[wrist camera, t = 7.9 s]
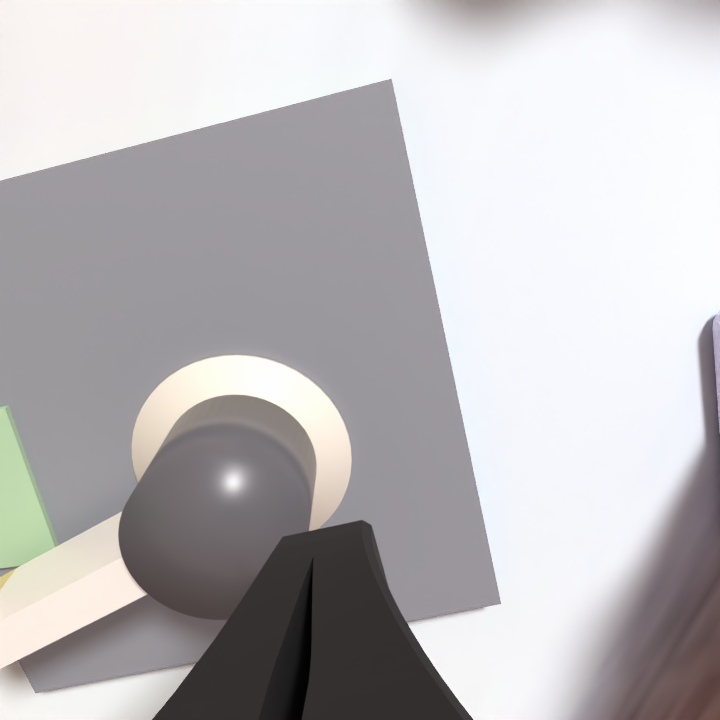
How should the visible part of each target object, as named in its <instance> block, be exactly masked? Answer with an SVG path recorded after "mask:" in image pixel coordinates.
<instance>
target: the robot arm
mask: <svg viewBox="0 0 720 720" xmlns="http://www.w3.org/2000/svg"><path fill="white" fill-rule="evenodd" d="M713 342H714V357H715V372H716V387H717V402H718V417H719V432H720V312H719V313H718V314H717V315H716V317H715V318H714V320H713ZM152 720H473V719H472V717H471V716H470V715H469V714H468V712H467V711H466V710H465V708H464V707H463V706H462V705H461V703H460V702H459V701H458V699H457V698H456V697H455V695H454V694H453V693H452V691H451V690H450V688H449V687H448V686H447V684H446V683H445V682H444V680H443V679H442V678H441V676H440V675H439V673H438V672H437V670H436V669H435V667H434V666H433V664H432V663H431V661H430V660H429V658H428V657H427V655H426V654H425V652H424V651H423V649H422V647H421V646H420V644H419V642H418V641H417V639H416V638H415V636H414V634H413V633H412V631H411V629H410V628H409V626H408V624H407V622H406V621H405V619H404V617H403V615H402V614H401V612H400V610H399V608H398V606H397V604H396V602H395V600H394V598H393V596H392V594H391V592H390V590H389V587H388V583H387V579H386V576H385V572H384V568H383V565H382V561H381V558H380V554H379V550H378V547H377V543H376V539H375V536H374V532H373V529H372V525H370V524H369V523H367V522H365V521H364V520H359V521H354V522H350V523H345V524H340V525H336V526H331V527H326V528H321V529H317V530H312V531H307V532H303V533H298V534H293V535H288V536H284V537H282V538H281V540H280V541H279V543H278V544H277V546H276V547H275V549H274V550H273V552H272V553H271V555H270V556H269V558H268V559H267V561H266V562H265V564H264V565H263V567H262V569H261V570H260V572H259V573H258V575H257V576H256V578H255V580H254V581H253V583H252V584H251V586H250V587H249V589H248V590H247V592H246V593H245V595H244V596H243V598H242V600H241V601H240V603H239V604H238V606H237V607H236V609H235V610H234V611H233V613H232V614H231V616H230V617H229V619H228V620H227V622H226V623H225V625H224V626H223V628H222V629H221V631H220V632H219V633H218V635H217V636H216V638H215V639H214V641H213V642H212V643H211V645H210V646H209V647H208V649H207V650H206V651H205V653H204V654H203V655H202V657H201V658H200V659H199V661H198V662H197V663H196V665H195V666H194V667H193V669H192V670H191V671H190V673H189V674H188V675H187V677H186V678H185V679H184V681H183V682H182V683H181V685H180V686H179V687H178V689H177V690H176V691H175V693H174V694H173V695H172V696H171V697H170V699H169V700H168V701H167V702H166V704H165V705H164V706H163V707H162V708H161V710H160V711H159V712H158V713H157V714H156V716H155V717H154V718H153V719H152Z"/></svg>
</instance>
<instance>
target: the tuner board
mask: <svg viewBox="0 0 720 720" xmlns="http://www.w3.org/2000/svg"><path fill="white" fill-rule="evenodd" d="M234 394H236V395H248V396H254V397H258V398H261V399H264V400H267V401H269V402H272V403H274V404H276V405H278V406H279V407H281V408H283V409H284V410H286V411H287V412H288V413H289V414H291V415H292V416H293V417H294V418H295V419H296V420H297V421H298V422H299V423H300V424H301V426H302V427H303V428H304V429H305V431H306V433H307V434H308V436H309V438H310V440H311V442H312V445H313V447H314V451H315V455H316V463H317V468H316V480H315V488H314V496H313V503H312V511H311V519H310V527H309V531H312V530H317V529H321V528H326V527H331V526H336V525H340V524H345V523H350V522H354V521H359V520H364V521H365V522H367V523H369V524H370V525H372V529H373V532H374V536H375V539H376V543H377V547H378V550H379V554H380V558H381V561H382V565H383V568H384V572H385V576H386V579H387V583H388V587H389V590H390V592H391V594H392V596H393V598H394V600H395V602H396V604H397V606H398V608H399V610H400V612H401V614H402V615H403V617H404V619H405V621H406V622H409V621H414V620H419V619H424V618H430V617H435V616H440V615H445V614H450V613H456V612H461V611H466V610H471V609H476V608H482V607H487V606H492V605H497V604H501V602H500V597H499V592H498V587H497V582H496V578H495V573H494V568H493V563H492V558H491V554H490V549H489V544H488V539H487V534H486V530H485V525H484V520H483V515H482V511H481V506H480V501H479V496H478V491H477V487H476V482H475V477H474V472H473V467H472V463H471V458H470V453H469V448H468V443H467V439H466V434H465V429H464V424H463V419H462V415H461V410H460V405H459V400H458V396H457V391H456V386H455V381H454V376H453V372H452V367H451V362H450V357H449V352H448V348H447V343H446V338H445V333H444V328H443V324H442V319H441V314H440V309H439V304H438V300H437V295H436V290H435V285H434V281H433V276H432V271H431V266H430V261H429V257H428V252H427V247H426V242H425V237H424V233H423V228H422V223H421V218H420V213H419V209H418V204H417V199H416V194H415V189H414V185H413V180H412V175H411V170H410V166H409V161H408V156H407V151H406V146H405V142H404V137H403V132H402V127H401V122H400V118H399V113H398V108H397V103H396V98H395V94H394V89H393V84H392V79H389V80H385V81H382V82H378V83H374V84H370V85H366V86H362V87H359V88H355V89H351V90H347V91H343V92H339V93H335V94H332V95H328V96H324V97H320V98H316V99H312V100H309V101H305V102H301V103H297V104H293V105H289V106H286V107H282V108H278V109H274V110H270V111H266V112H263V113H259V114H255V115H251V116H247V117H243V118H240V119H236V120H232V121H228V122H224V123H220V124H217V125H213V126H209V127H205V128H201V129H197V130H193V131H190V132H186V133H182V134H178V135H174V136H170V137H167V138H163V139H159V140H155V141H151V142H147V143H144V144H140V145H136V146H132V147H128V148H124V149H121V150H117V151H113V152H109V153H105V154H101V155H98V156H94V157H90V158H86V159H82V160H78V161H75V162H71V163H67V164H63V165H59V166H55V167H51V168H48V169H44V170H40V171H36V172H32V173H28V174H25V175H21V176H17V177H13V178H9V179H5V180H2V181H0V577H1V576H3V575H5V574H7V573H8V572H10V571H12V570H14V569H16V568H18V567H20V566H21V565H23V564H25V563H27V562H29V561H31V560H33V559H34V558H36V557H38V556H40V555H42V554H44V553H46V552H47V551H49V550H51V549H53V548H55V547H57V546H59V545H60V544H62V543H64V542H66V541H68V540H70V539H72V538H73V537H75V536H77V535H79V534H81V533H83V532H85V531H86V530H88V529H90V528H92V527H94V526H96V525H98V524H99V523H101V522H103V521H105V520H107V519H109V518H111V517H112V516H114V515H116V514H118V513H120V512H122V511H123V509H124V506H125V504H126V502H127V501H128V499H129V497H130V496H131V494H132V492H133V491H134V489H135V487H136V486H137V484H138V483H139V481H140V479H141V478H142V476H143V474H144V473H145V471H146V469H147V468H148V466H149V464H150V463H151V461H152V459H153V458H154V456H155V455H156V453H157V451H158V450H159V448H160V446H161V445H162V443H163V441H164V440H165V438H166V436H167V435H168V433H169V431H170V430H171V428H172V427H173V425H174V423H175V422H176V421H177V420H178V419H179V417H180V416H181V415H182V414H184V413H185V412H186V411H187V410H188V409H190V408H191V407H193V406H194V405H196V404H198V403H200V402H202V401H204V400H207V399H210V398H213V397H217V396H223V395H234ZM226 622H227V620H209V619H202V618H196V617H192V616H188V615H185V614H182V613H179V612H177V611H174V610H172V609H170V608H168V607H166V606H164V605H162V604H161V603H159V602H158V601H156V600H155V599H153V598H152V597H151V596H150V595H149V594H147V595H145V596H143V597H141V598H139V599H137V600H135V601H133V602H131V603H129V604H127V605H125V606H123V607H121V608H120V609H118V610H116V611H114V612H112V613H110V614H108V615H106V616H104V617H102V618H100V619H98V620H96V621H94V622H92V623H90V624H88V625H86V626H84V627H82V628H80V629H78V630H76V631H74V632H72V633H70V634H68V635H66V636H64V637H62V638H60V639H58V640H56V641H54V642H52V643H51V644H49V645H47V646H45V647H43V648H41V649H39V650H37V651H35V652H33V653H31V654H29V655H27V656H25V657H23V658H21V659H19V660H18V661H19V662H20V664H21V666H22V668H23V670H24V672H25V674H26V676H27V678H28V680H29V682H30V683H31V685H32V687H33V689H34V691H35V693H39V692H45V691H50V690H55V689H60V688H65V687H71V686H76V685H81V684H86V683H91V682H97V681H102V680H107V679H112V678H117V677H123V676H128V675H133V674H138V673H143V672H149V671H154V670H159V669H164V668H169V667H175V666H180V665H185V664H190V663H195V662H198V661H199V659H200V658H201V657H202V655H203V654H204V653H205V651H206V650H207V649H208V647H209V646H210V645H211V643H212V642H213V641H214V639H215V638H216V636H217V635H218V633H219V632H220V631H221V629H222V628H223V626H224V625H225V623H226Z"/></svg>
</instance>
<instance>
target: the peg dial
mask: <svg viewBox="0 0 720 720" xmlns="http://www.w3.org/2000/svg"><path fill="white" fill-rule="evenodd" d="M316 468H317V463H316V455H315V451H314V447H313V445H312V442H311V440H310V438H309V436H308V434H307V433H306V431H305V429H304V428H303V427H302V426H301V424H300V423H299V422H298V421H297V420H296V419H295V418H294V417H293V416H292V415H291V414H289V413H288V412H287V411H286V410H284V409H283V408H281V407H279V406H278V405H276V404H274V403H272V402H269V401H267V400H264V399H261V398H258V397H254V396H248V395H236V394H234V395H223V396H217V397H213V398H210V399H207V400H204V401H202V402H200V403H198V404H196V405H194V406H193V407H191V408H190V409H188V410H187V411H186V412H185V413H184V414H182V415H181V416H180V417H179V419H178V420H177V421H176V422H175V423H174V425H173V427H172V428H171V430H170V431H169V433H168V435H167V436H166V438H165V440H164V441H163V443H162V445H161V446H160V448H159V450H158V451H157V453H156V455H155V456H154V458H153V459H152V461H151V463H150V464H149V466H148V468H147V469H146V471H145V473H144V474H143V476H142V478H141V479H140V481H139V483H138V484H137V486H136V487H135V489H134V491H133V492H132V494H131V496H130V497H129V499H128V501H127V502H126V504H125V506H124V509H123V511H122V512H120V513H118V514H116V515H114V516H112V517H111V518H109V519H107V520H105V521H103V522H101V523H99V524H98V525H96V526H94V527H92V528H90V529H88V530H86V531H85V532H83V533H81V534H79V535H77V536H75V537H73V538H72V539H70V540H68V541H66V542H64V543H62V544H60V545H59V546H57V547H55V548H53V549H51V550H49V551H47V552H46V553H44V554H42V555H40V556H38V557H36V558H34V559H33V560H31V561H29V562H27V563H25V564H23V565H21V566H20V567H18V568H16V569H14V570H12V571H10V572H8V573H7V574H5V575H3V576H1V577H0V669H1V668H3V667H5V666H7V665H9V664H11V663H13V662H15V661H17V660H19V659H21V658H23V657H25V656H27V655H29V654H31V653H33V652H35V651H37V650H39V649H41V648H43V647H45V646H47V645H49V644H51V643H52V642H54V641H56V640H58V639H60V638H62V637H64V636H66V635H68V634H70V633H72V632H74V631H76V630H78V629H80V628H82V627H84V626H86V625H88V624H90V623H92V622H94V621H96V620H98V619H100V618H102V617H104V616H106V615H108V614H110V613H112V612H114V611H116V610H118V609H120V608H121V607H123V606H125V605H127V604H129V603H131V602H133V601H135V600H137V599H139V598H141V597H143V596H145V595H147V594H149V595H150V596H151V597H152V598H153V599H155V600H156V601H158V602H159V603H161V604H162V605H164V606H166V607H168V608H170V609H172V610H174V611H177V612H179V613H182V614H185V615H188V616H192V617H196V618H202V619H209V620H228V619H229V617H230V616H231V614H232V613H233V611H234V610H235V609H236V607H237V606H238V604H239V603H240V601H241V600H242V598H243V596H244V595H245V593H246V592H247V590H248V589H249V587H250V586H251V584H252V583H253V581H254V580H255V578H256V576H257V575H258V573H259V572H260V570H261V569H262V567H263V565H264V564H265V562H266V561H267V559H268V558H269V556H270V555H271V553H272V552H273V550H274V549H275V547H276V546H277V544H278V543H279V541H280V540H281V538H282V537H284V536H288V535H293V534H298V533H303V532H307V531H309V527H310V519H311V511H312V503H313V496H314V488H315V480H316Z"/></svg>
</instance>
